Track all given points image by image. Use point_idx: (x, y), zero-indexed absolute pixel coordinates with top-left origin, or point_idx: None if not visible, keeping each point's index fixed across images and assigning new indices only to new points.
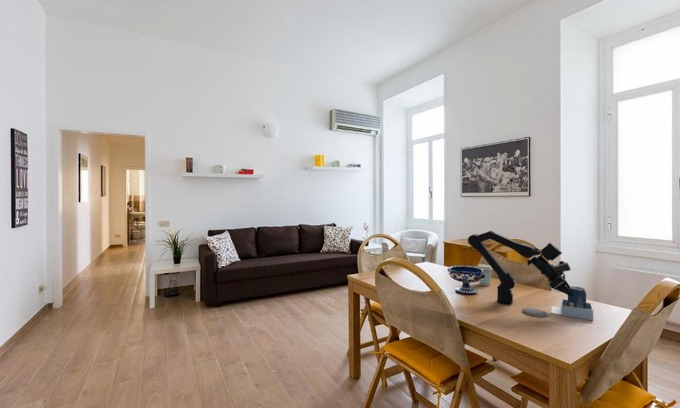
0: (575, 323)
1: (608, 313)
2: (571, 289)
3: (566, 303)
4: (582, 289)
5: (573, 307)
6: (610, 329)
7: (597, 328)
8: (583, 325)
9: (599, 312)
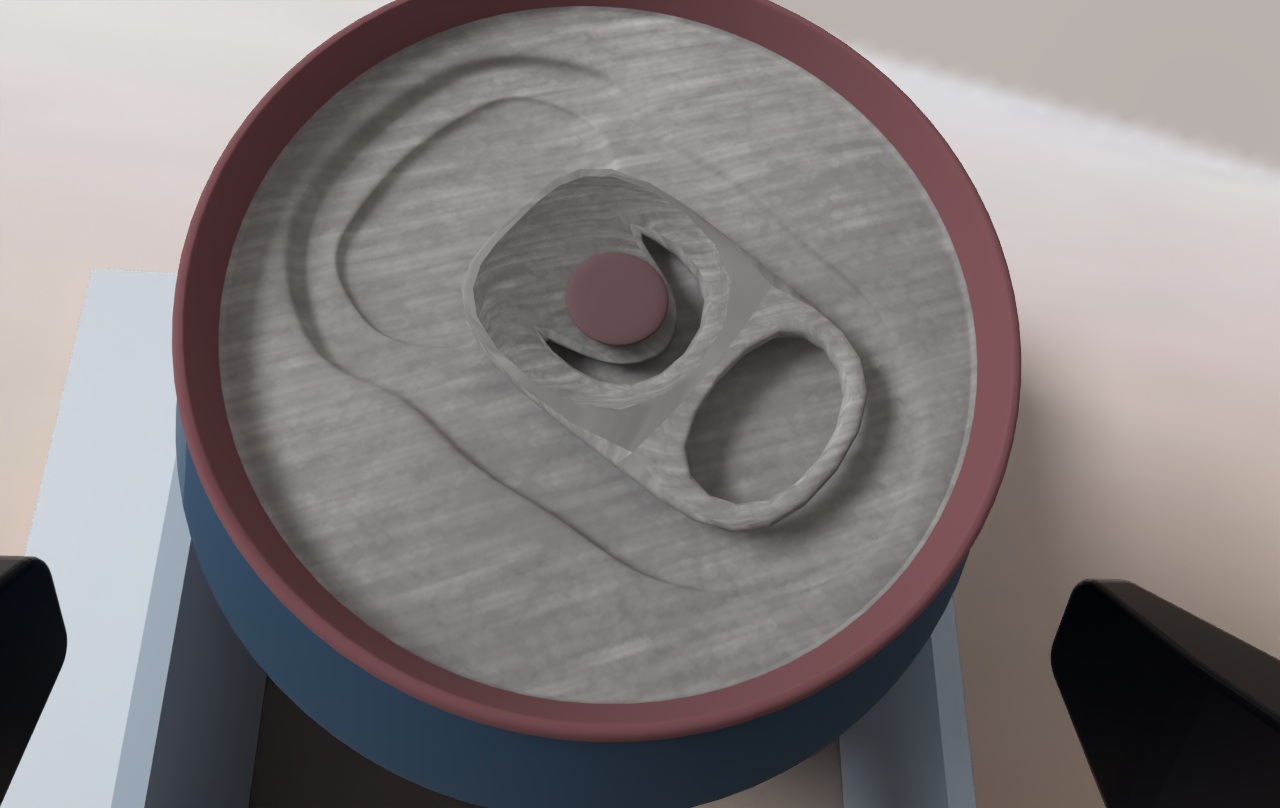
0: (1239, 616)
1: (166, 20)
2: (895, 619)
3: (195, 792)
4: (500, 69)
5: (949, 617)
6: (1127, 146)
7: (1226, 303)
8: (1244, 491)
9: (172, 144)
